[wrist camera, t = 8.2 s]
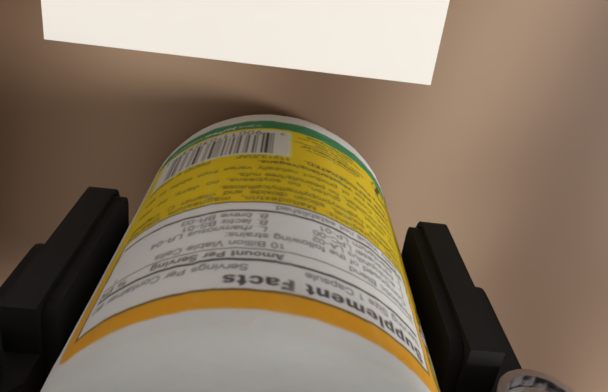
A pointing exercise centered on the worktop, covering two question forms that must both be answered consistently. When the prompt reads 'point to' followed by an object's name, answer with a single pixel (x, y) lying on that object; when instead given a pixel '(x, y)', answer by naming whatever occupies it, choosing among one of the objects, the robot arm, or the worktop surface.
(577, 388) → the board
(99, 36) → the holder
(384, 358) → the supplement bottle
